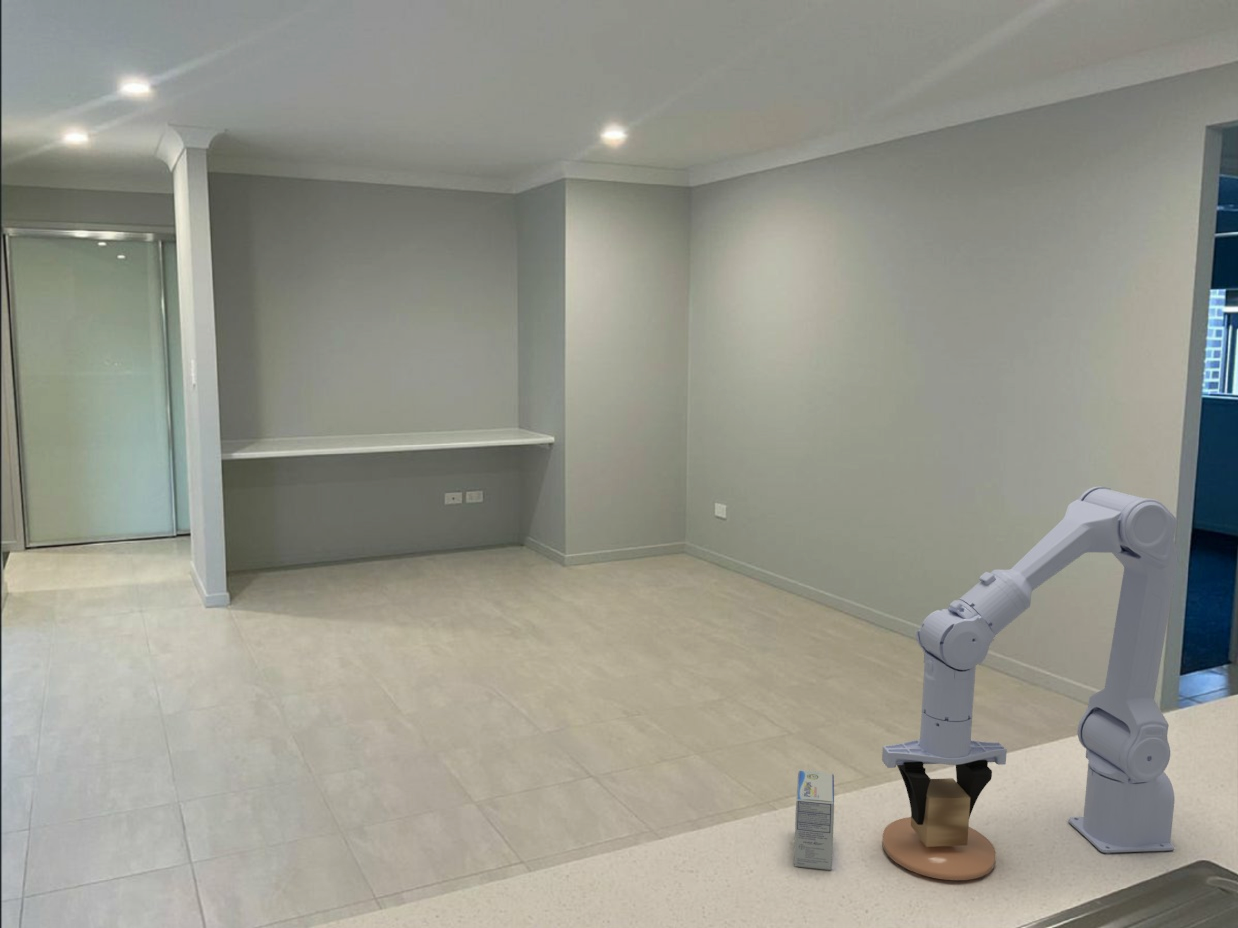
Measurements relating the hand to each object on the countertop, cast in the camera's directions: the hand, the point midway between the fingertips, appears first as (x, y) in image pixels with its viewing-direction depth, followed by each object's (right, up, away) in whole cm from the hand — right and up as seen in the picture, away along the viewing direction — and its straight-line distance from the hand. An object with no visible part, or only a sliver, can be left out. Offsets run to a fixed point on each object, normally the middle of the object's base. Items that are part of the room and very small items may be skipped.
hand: (939, 819), depth 120 cm
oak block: (0, -2, 0) cm, 2 cm away
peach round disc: (0, -4, +1) cm, 4 cm away
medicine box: (-15, -4, +1) cm, 16 cm away
